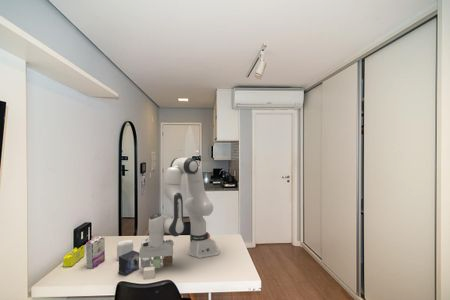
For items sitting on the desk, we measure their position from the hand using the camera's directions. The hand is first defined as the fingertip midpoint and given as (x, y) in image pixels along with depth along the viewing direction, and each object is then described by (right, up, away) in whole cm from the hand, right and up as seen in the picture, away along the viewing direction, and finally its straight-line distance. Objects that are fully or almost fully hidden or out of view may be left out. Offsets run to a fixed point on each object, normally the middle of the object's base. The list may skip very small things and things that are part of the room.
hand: (156, 262), depth 146 cm
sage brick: (0, -2, 0) cm, 2 cm away
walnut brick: (+5, -4, +7) cm, 10 cm away
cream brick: (-2, -5, -8) cm, 9 cm away
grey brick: (-9, -4, +5) cm, 11 cm away
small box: (-17, -5, -2) cm, 17 cm away
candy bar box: (-42, -5, +7) cm, 42 cm away
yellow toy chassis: (-58, -5, +11) cm, 59 cm away
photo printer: (-26, -5, +15) cm, 30 cm away
